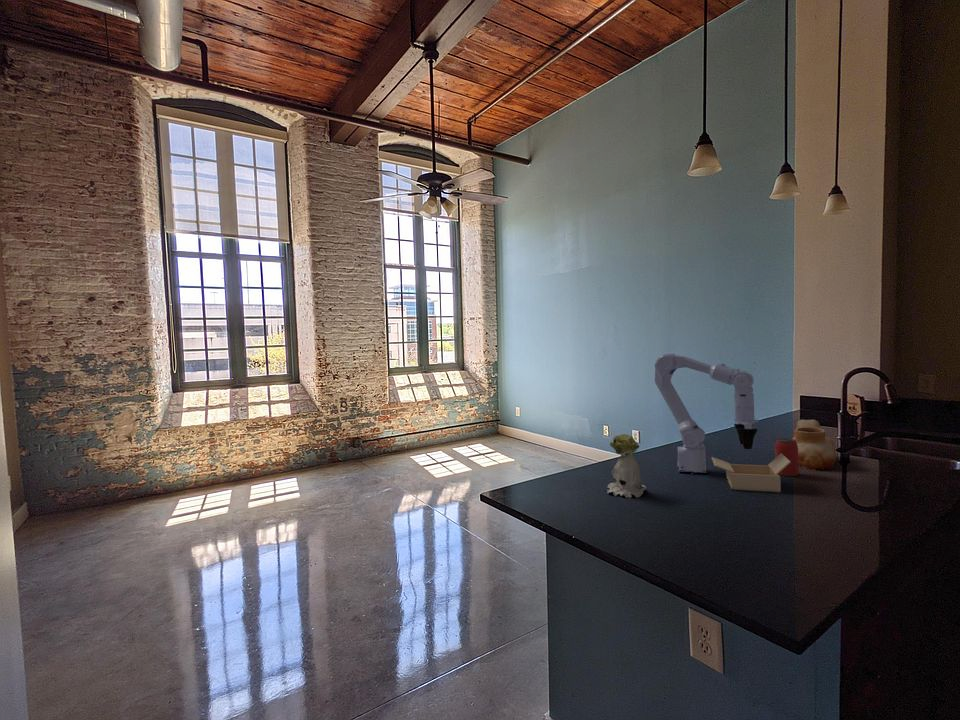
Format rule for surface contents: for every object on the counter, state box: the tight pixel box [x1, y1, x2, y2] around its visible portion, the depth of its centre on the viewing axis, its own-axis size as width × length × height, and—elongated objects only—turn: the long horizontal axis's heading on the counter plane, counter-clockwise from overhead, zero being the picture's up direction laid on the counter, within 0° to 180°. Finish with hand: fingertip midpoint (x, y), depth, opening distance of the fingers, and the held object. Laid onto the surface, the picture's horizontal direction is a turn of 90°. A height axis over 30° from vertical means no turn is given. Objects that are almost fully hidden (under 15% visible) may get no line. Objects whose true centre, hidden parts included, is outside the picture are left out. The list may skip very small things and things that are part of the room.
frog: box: [606, 433, 647, 499], centre depth 148 cm, size 12×13×18 cm
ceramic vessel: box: [791, 419, 837, 470], centre depth 172 cm, size 14×26×15 cm, turn 148°
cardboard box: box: [725, 463, 782, 493], centre depth 148 cm, size 13×13×5 cm
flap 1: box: [711, 456, 734, 473], centre depth 151 cm, size 6×11×1 cm, turn 157°
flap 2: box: [767, 453, 791, 475], centre depth 145 cm, size 6×11×1 cm
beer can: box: [774, 437, 800, 477], centre depth 158 cm, size 7×7×12 cm
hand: (745, 446), depth 157 cm, fingers open, 7 cm apart
